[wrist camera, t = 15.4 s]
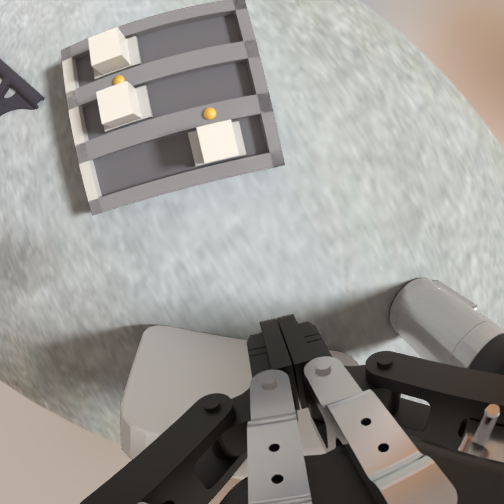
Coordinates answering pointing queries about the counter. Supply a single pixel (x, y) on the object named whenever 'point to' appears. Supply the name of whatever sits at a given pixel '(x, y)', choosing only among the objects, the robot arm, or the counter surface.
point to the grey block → (190, 384)
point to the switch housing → (173, 105)
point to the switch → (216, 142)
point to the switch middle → (123, 105)
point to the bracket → (23, 96)
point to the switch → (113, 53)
